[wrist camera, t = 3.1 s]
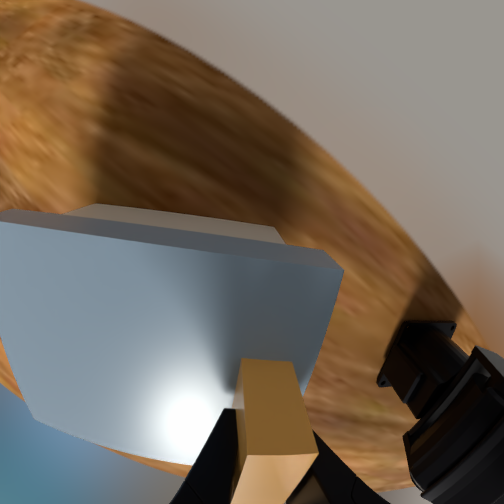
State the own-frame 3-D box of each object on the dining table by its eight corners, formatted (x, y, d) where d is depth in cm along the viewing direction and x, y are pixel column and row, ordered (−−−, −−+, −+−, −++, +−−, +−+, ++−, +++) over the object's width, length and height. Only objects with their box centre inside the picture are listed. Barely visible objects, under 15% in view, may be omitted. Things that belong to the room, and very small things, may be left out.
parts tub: (274, 226, 16) (295, 258, 11) (249, 354, 19) (255, 418, 13) (95, 203, 15) (38, 222, 9) (98, 329, 18) (62, 381, 12)
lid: (323, 250, 10) (412, 340, 4) (266, 440, 12) (279, 530, 7) (12, 208, 8) (-89, 245, 3) (47, 396, 11) (8, 464, 6)
